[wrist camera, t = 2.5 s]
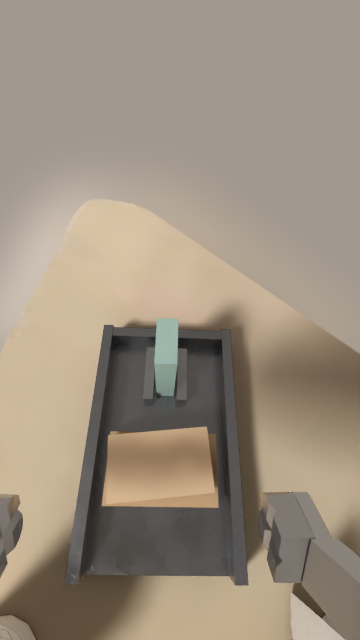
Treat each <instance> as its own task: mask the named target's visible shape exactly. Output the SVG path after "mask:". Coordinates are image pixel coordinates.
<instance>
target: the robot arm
mask: <svg viewBox="0 0 360 640" xmlns="http://www.w3.org/2000/svg"><path fill="white" fill-rule="evenodd" d="M260 502H261V505H262V509H261V510H260V511H259V517H258V523H259V532H260V537H261V541H262V544H263V545H264V546H265V548H266V549H267V550H268V555H267V561H268V564H269V568H270V571H271V574H272V578H273V581H274V583H302V584H301V585H302V586H303V587H304V588H305V590H306V591H307V592H308V593H309V594H310V596H311V597H312V598H313V599H314V601H315V602H316V603H317V604H318V605H319V607H320V608H321V609H322V610H323V611H324V613H325V614H326V615H327V616H328V618H329V619H330V620H331V621H332V622H333V624H334V625H335V626H336V627H337V629H338V630H339V631H340V632H341V633H342V635H343V636H344V637H345V638H346V639H347V640H360V557H359V556H358V555H357V554H356V553H354V552H353V551H352V550H351V549H349V548H348V547H347V546H346V545H345V544H343V543H342V542H341V541H340V540H339V539H333V538H332V536H331V534H330V532H329V530H328V529H327V527H326V525H325V523H324V521H323V519H322V517H321V515H320V514H319V512H318V510H317V508H316V506H315V504H314V502H313V501H312V499H311V497H310V495H309V494H308V493H307V492H266V493H262V495H261V501H260ZM19 505H20V500H19V495H8V494H0V577H1V575H2V573H3V571H4V569H5V567H6V565H7V558H6V555H7V554H9V553H10V552H11V551H12V550H13V549H14V548H15V547H16V545H17V542H18V540H19V538H20V534H21V531H22V525H23V517H22V513H21V512H20V511H19V510H17V508H18V506H19Z"/></svg>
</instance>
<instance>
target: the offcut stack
mask: <svg viewBox="0 0 360 640" xmlns="http://www.w3.org/2000/svg"><path fill="white" fill-rule="evenodd" d="M102 506H133V507H198V508H219V506H218V480H217V454H216V434H208V431H207V427H195V428H184V429H172V430H160V431H149V432H118V431H111V432H110V435H108V454H107V465H106V474H105V482H104V490H103V499H102Z"/></svg>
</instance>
